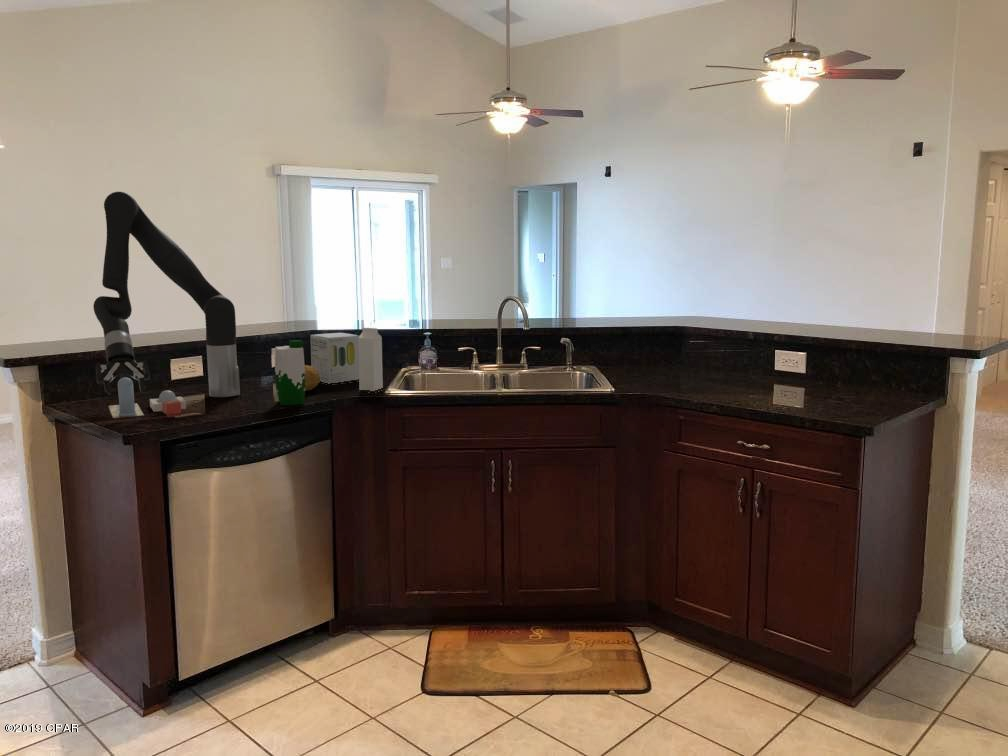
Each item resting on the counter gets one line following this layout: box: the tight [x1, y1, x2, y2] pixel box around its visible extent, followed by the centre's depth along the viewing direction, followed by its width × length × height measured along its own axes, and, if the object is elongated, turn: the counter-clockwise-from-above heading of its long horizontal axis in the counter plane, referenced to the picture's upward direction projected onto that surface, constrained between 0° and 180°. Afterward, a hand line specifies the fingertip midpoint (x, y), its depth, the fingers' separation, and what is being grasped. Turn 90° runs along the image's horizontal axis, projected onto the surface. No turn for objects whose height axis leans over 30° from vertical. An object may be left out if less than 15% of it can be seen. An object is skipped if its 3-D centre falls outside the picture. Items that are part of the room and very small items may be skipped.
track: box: [108, 402, 145, 421], centre depth 227 cm, size 8×20×1 cm, turn 31°
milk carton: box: [274, 339, 306, 406], centre depth 242 cm, size 9×9×20 cm
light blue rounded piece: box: [157, 389, 177, 403], centre depth 231 cm, size 5×5×6 cm
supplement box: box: [310, 332, 359, 384], centre depth 284 cm, size 13×13×18 cm
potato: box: [305, 364, 320, 392], centre depth 263 cm, size 10×13×9 cm
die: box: [162, 400, 182, 418], centre depth 224 cm, size 4×4×4 cm
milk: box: [358, 327, 384, 391], centre depth 264 cm, size 6×6×22 cm
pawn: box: [117, 377, 136, 418], centre depth 220 cm, size 5×5×11 cm
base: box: [149, 396, 187, 413], centre depth 231 cm, size 9×9×3 cm
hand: (125, 392), depth 223 cm, fingers open, 8 cm apart
